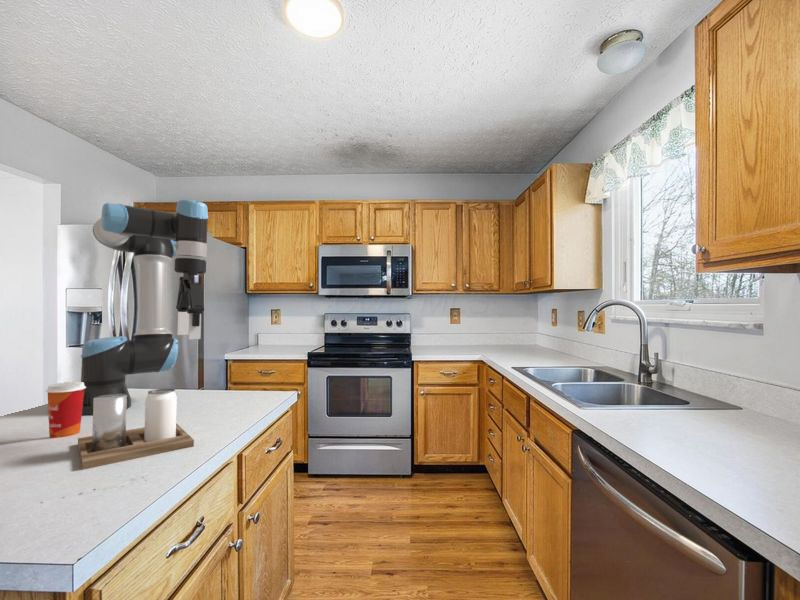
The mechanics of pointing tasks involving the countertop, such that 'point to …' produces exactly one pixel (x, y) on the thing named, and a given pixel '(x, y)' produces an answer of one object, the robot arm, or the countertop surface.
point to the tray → (131, 448)
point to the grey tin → (109, 422)
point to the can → (160, 414)
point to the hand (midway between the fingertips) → (188, 336)
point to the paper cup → (65, 408)
